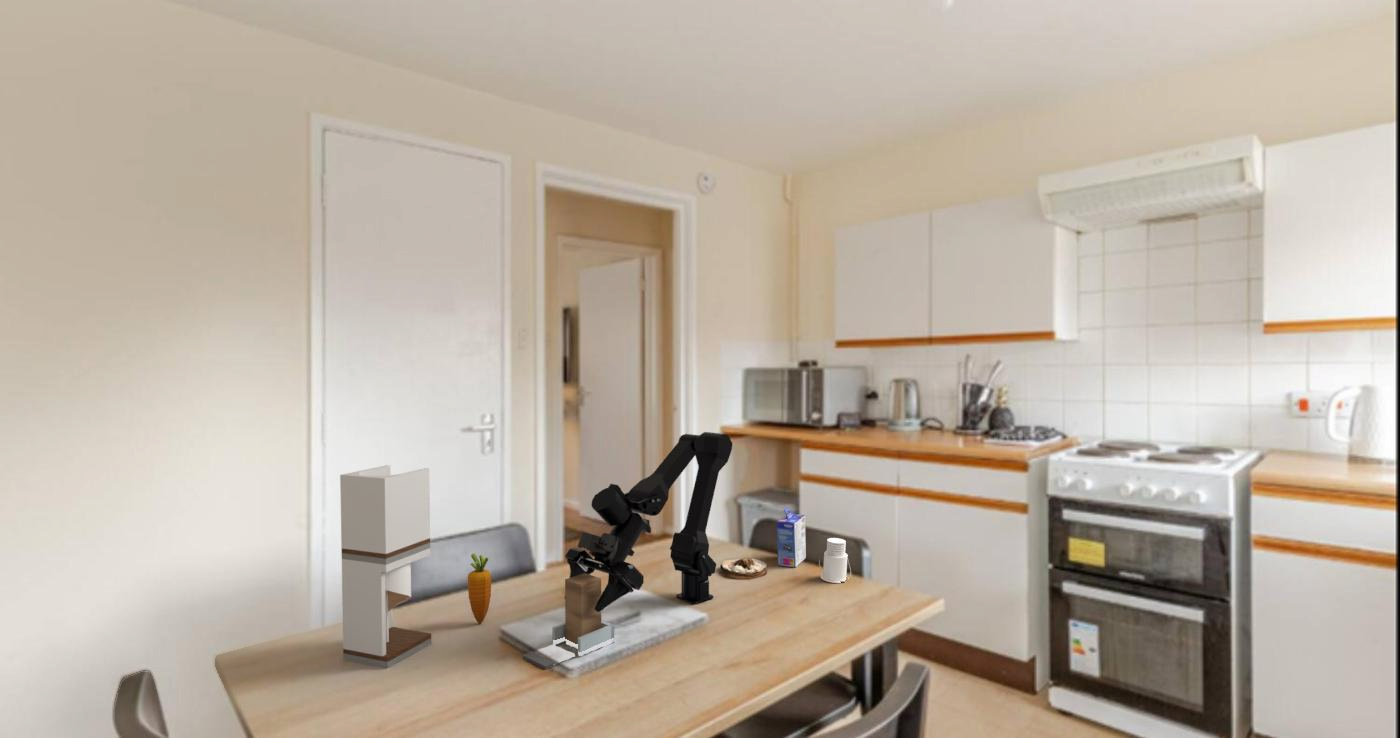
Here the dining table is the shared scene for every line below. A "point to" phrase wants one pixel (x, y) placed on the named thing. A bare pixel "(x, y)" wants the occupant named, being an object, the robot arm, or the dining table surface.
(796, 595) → the dining table surface
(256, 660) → the dining table surface
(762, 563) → the cream topped pie
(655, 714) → the dining table surface
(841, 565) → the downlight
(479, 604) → the carrot
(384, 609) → the tall white cubby shelf
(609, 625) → the sleeve
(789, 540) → the ink cartridge box
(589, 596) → the walnut block
